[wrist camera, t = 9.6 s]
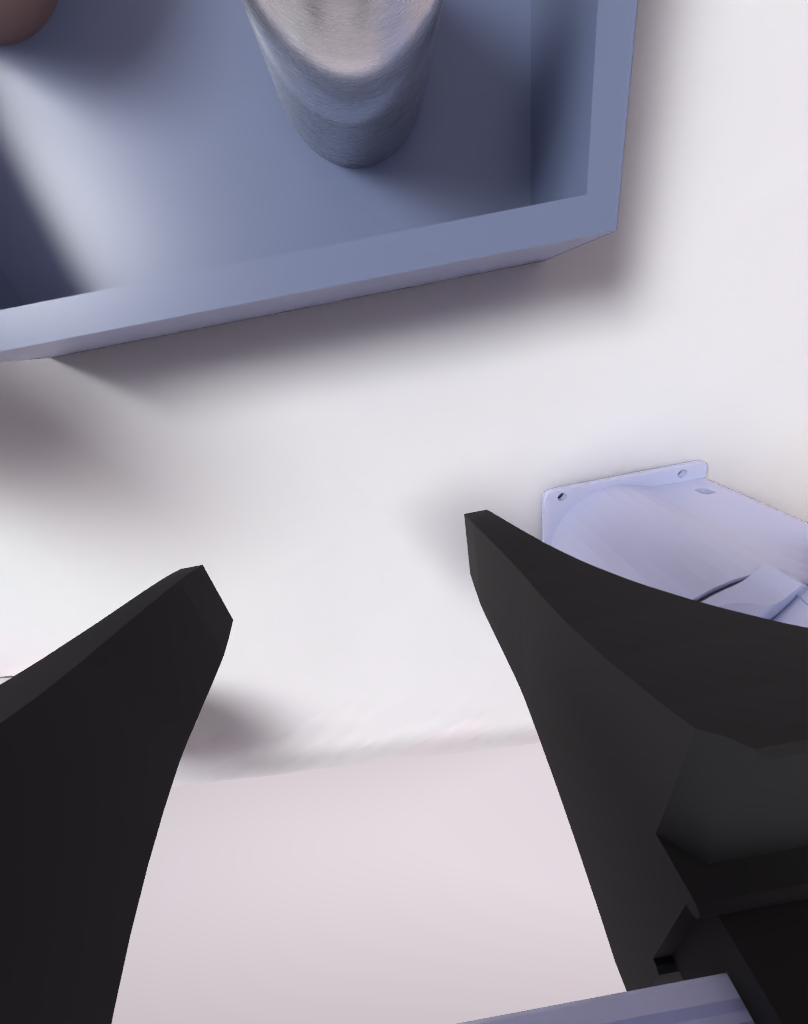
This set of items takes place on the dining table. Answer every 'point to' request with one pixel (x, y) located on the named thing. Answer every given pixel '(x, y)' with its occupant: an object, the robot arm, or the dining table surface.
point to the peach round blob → (23, 19)
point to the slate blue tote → (286, 167)
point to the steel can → (348, 70)
